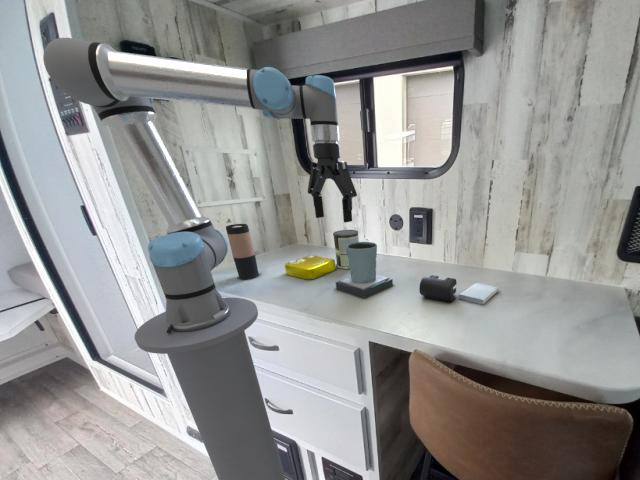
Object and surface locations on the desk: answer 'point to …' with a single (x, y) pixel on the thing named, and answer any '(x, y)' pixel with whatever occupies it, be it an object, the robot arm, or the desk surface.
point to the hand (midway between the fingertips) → (333, 219)
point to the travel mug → (242, 251)
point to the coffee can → (344, 246)
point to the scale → (364, 286)
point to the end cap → (438, 288)
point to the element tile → (310, 267)
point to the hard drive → (478, 293)
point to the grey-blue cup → (362, 261)
